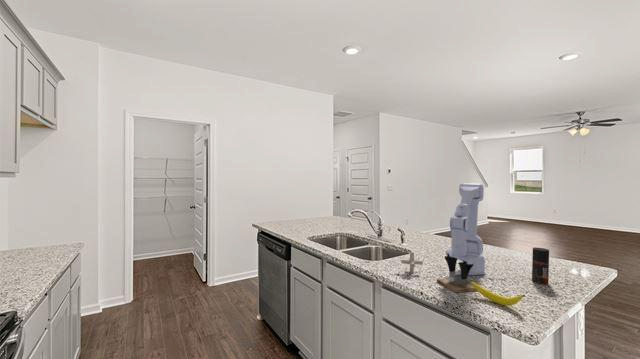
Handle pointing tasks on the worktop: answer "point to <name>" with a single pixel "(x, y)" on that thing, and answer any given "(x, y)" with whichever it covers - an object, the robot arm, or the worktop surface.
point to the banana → (497, 296)
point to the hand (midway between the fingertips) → (458, 275)
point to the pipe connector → (412, 262)
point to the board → (457, 286)
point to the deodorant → (540, 266)
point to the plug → (456, 278)
